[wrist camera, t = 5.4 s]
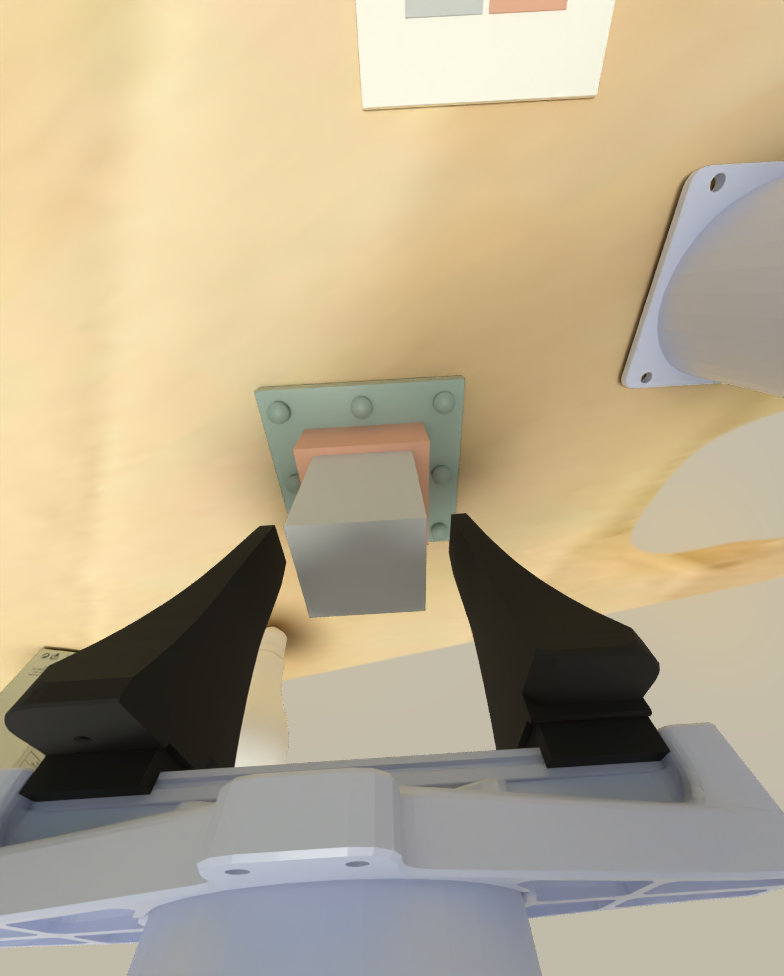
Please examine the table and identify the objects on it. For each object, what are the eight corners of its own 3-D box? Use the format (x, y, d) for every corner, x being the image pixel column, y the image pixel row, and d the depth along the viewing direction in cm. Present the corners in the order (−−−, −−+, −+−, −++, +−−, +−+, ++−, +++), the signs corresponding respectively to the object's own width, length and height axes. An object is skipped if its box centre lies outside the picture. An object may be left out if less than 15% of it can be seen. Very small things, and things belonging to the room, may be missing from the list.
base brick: (422, 422, 16) (429, 441, 14) (422, 517, 19) (428, 544, 17) (304, 429, 16) (292, 449, 14) (323, 523, 19) (316, 551, 17)
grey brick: (412, 450, 14) (426, 517, 10) (413, 528, 16) (425, 610, 12) (313, 455, 14) (283, 526, 9) (328, 533, 16) (309, 617, 12)
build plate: (461, 375, 15) (467, 381, 14) (451, 532, 21) (455, 545, 19) (259, 387, 15) (250, 394, 14) (300, 541, 21) (296, 555, 19)
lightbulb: (293, 658, 27) (248, 845, 18) (223, 637, 26) (133, 833, 16) (324, 620, 25) (292, 815, 15) (250, 594, 23) (161, 797, 14)
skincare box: (41, 645, 25) (-196, 889, 15) (101, 652, 26) (-84, 888, 16) (60, 685, 28) (-126, 910, 18) (113, 690, 29) (-35, 909, 19)
